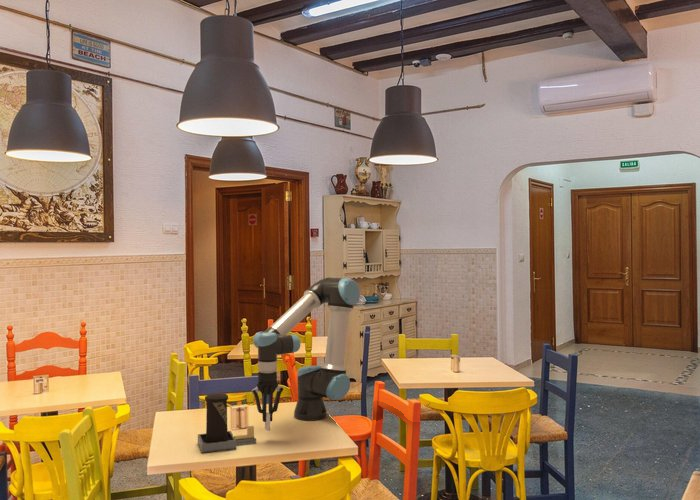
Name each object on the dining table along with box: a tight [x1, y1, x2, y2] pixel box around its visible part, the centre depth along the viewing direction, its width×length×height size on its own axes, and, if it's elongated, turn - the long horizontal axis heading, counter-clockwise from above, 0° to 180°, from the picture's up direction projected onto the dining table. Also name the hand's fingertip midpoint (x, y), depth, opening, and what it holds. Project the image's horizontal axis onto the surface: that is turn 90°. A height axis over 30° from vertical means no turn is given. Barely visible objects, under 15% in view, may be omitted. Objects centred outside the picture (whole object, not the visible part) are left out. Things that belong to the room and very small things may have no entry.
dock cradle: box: [197, 430, 237, 454], centre depth 242 cm, size 13×13×4 cm
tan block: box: [233, 425, 255, 440], centre depth 246 cm, size 8×2×5 cm, turn 111°
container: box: [204, 392, 229, 443], centre depth 242 cm, size 9×9×20 cm
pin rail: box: [236, 437, 257, 447], centre depth 246 cm, size 8×4×2 cm, turn 111°
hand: (267, 429), depth 249 cm, fingers closed
